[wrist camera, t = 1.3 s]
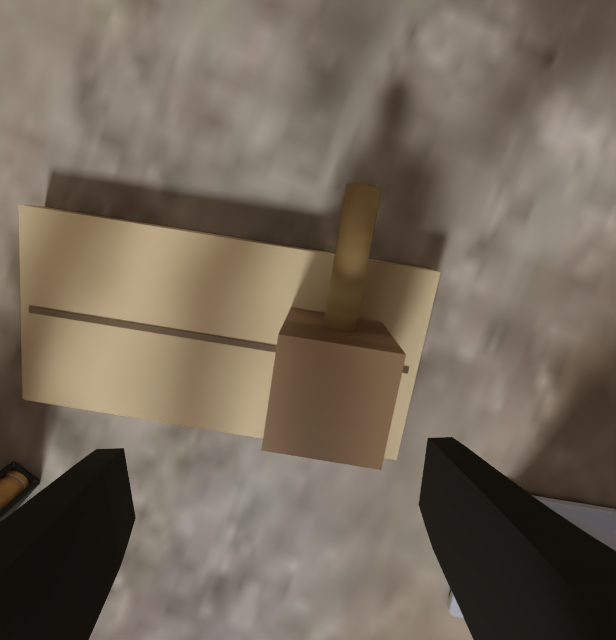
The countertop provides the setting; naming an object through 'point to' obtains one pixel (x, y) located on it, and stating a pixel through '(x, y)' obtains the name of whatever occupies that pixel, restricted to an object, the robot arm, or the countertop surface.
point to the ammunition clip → (14, 488)
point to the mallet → (337, 361)
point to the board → (184, 318)
